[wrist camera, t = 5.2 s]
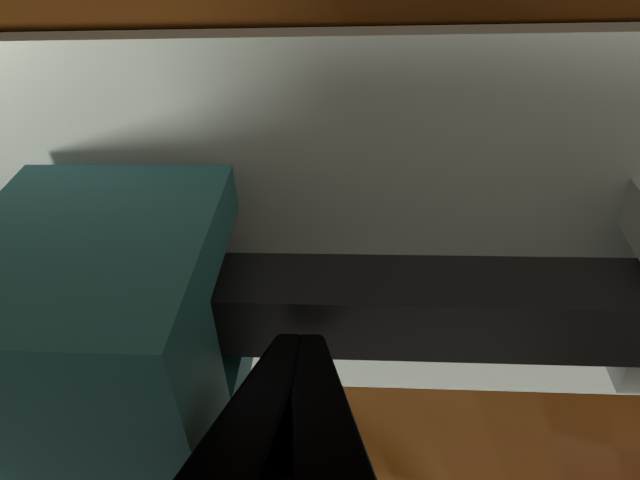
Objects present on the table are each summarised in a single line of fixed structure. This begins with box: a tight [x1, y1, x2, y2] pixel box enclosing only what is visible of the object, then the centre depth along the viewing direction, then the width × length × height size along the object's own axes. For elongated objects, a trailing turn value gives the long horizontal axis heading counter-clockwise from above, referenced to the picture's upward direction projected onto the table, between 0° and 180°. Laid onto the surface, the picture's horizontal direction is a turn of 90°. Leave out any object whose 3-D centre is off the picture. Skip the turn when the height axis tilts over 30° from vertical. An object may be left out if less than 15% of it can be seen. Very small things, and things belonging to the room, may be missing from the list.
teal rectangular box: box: [0, 165, 253, 480], centre depth 10 cm, size 4×5×5 cm
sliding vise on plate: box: [0, 22, 640, 395], centre depth 11 cm, size 23×9×5 cm, turn 92°
